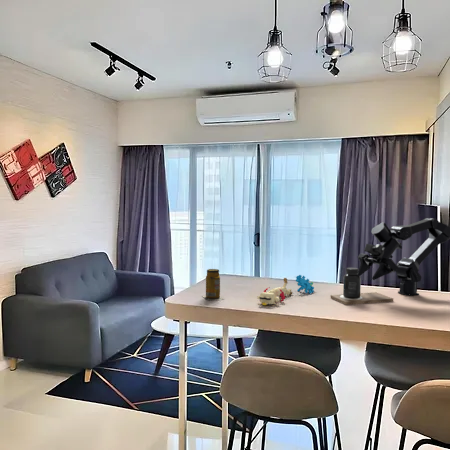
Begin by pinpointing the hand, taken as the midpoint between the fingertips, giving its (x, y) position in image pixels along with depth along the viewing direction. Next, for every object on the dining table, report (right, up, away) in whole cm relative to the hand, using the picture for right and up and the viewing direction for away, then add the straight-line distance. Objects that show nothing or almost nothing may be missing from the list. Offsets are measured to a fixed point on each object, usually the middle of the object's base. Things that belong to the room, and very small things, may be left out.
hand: (365, 277), depth 183 cm
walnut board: (-2, -9, -1) cm, 9 cm away
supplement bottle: (-6, -8, -2) cm, 11 cm away
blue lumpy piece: (-23, -9, +13) cm, 28 cm away
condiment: (-64, -9, +2) cm, 64 cm away
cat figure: (-38, -10, -1) cm, 39 cm away
